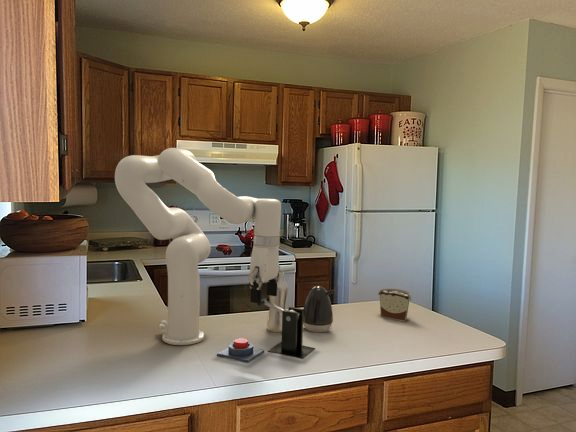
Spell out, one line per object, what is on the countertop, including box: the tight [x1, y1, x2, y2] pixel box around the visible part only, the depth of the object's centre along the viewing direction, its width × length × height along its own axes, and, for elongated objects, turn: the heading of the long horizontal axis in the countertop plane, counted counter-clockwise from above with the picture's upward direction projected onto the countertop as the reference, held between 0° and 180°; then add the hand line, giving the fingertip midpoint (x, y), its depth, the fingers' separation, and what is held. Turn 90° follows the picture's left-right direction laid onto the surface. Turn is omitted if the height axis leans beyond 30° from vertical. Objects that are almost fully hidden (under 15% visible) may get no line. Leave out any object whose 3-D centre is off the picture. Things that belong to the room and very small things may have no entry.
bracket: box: [267, 306, 316, 360], centre depth 137 cm, size 11×9×13 cm
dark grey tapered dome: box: [303, 285, 336, 333], centre depth 157 cm, size 10×10×15 cm
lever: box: [256, 297, 300, 318], centre depth 139 cm, size 12×6×2 cm, turn 64°
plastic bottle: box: [266, 270, 289, 333], centre depth 155 cm, size 6×7×20 cm
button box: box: [216, 341, 265, 364], centre depth 133 cm, size 10×9×4 cm
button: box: [233, 337, 249, 348], centre depth 133 cm, size 4×4×2 cm
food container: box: [377, 288, 412, 323], centre depth 176 cm, size 12×6×10 cm, turn 58°
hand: (263, 298), depth 141 cm, fingers open, 9 cm apart
